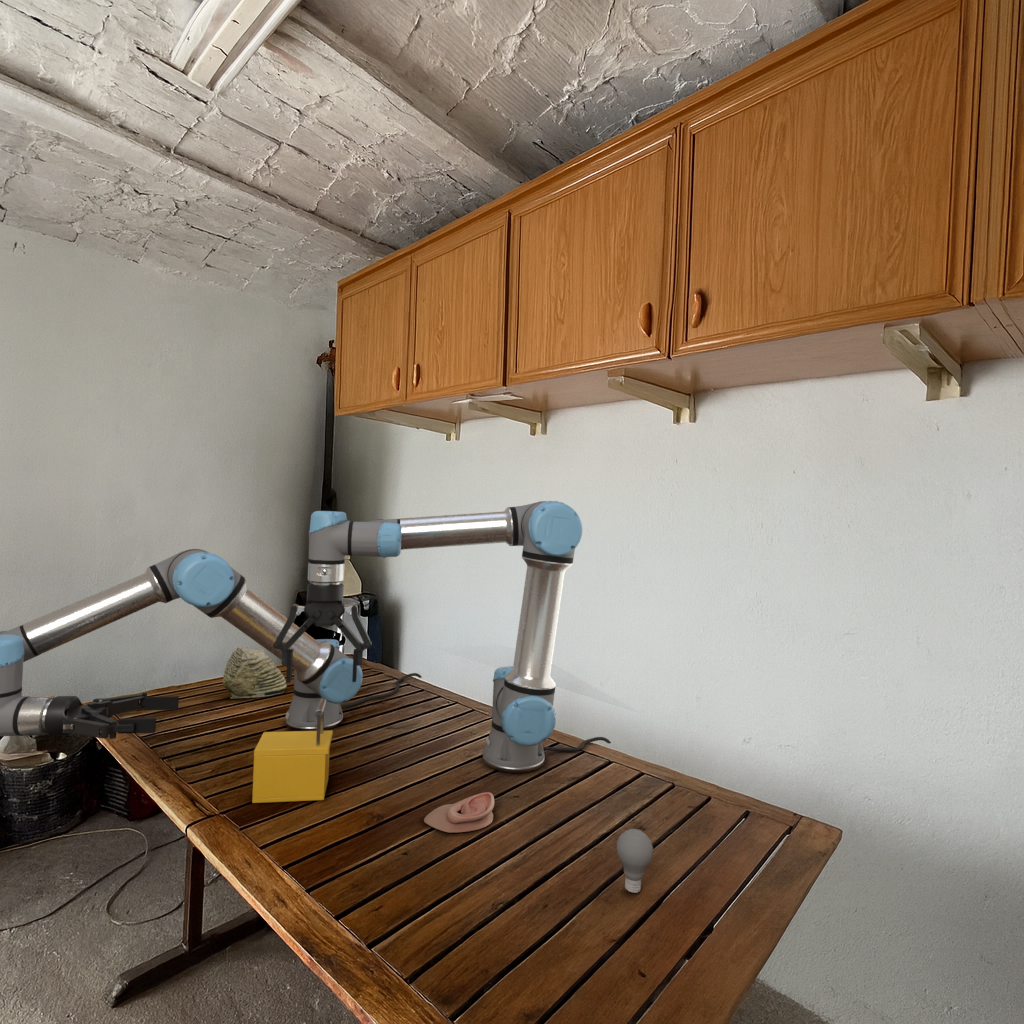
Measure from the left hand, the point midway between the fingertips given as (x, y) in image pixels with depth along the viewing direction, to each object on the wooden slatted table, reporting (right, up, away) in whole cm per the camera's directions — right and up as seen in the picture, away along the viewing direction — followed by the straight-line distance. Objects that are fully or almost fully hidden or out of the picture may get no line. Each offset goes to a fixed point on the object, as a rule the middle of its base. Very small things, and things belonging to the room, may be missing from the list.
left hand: (167, 713), depth 131 cm
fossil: (-9, -16, +67) cm, 70 cm away
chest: (+24, -18, +5) cm, 31 cm away
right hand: (+30, +5, +6) cm, 31 cm away
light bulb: (+91, -22, -25) cm, 97 cm away
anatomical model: (+61, -20, -4) cm, 64 cm away
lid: (+25, -9, +5) cm, 27 cm away
